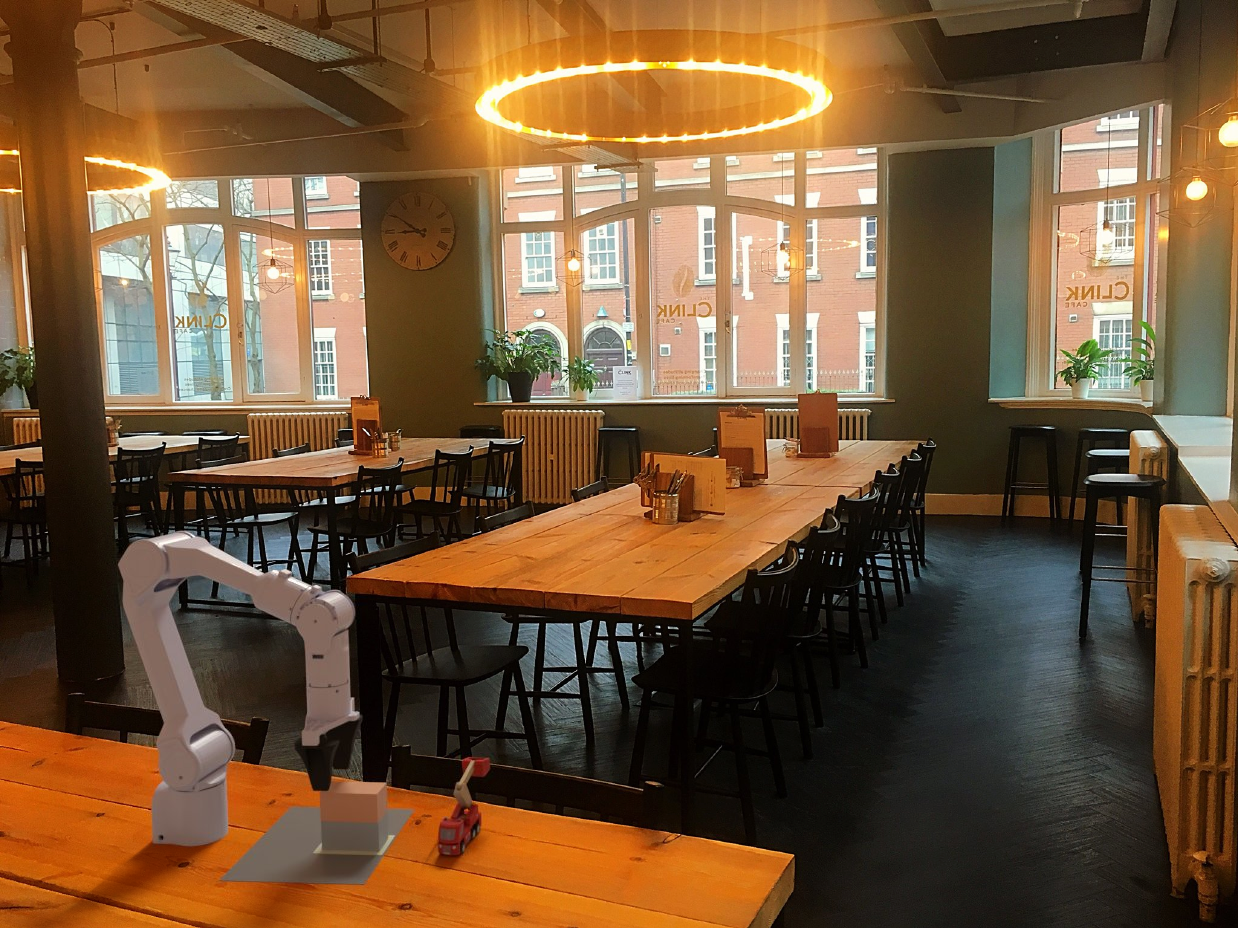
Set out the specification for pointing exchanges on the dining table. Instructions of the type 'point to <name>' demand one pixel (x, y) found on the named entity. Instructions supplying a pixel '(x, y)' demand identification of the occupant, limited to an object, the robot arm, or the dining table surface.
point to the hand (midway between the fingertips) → (331, 779)
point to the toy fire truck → (462, 811)
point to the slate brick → (354, 835)
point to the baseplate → (309, 852)
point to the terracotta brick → (354, 802)
